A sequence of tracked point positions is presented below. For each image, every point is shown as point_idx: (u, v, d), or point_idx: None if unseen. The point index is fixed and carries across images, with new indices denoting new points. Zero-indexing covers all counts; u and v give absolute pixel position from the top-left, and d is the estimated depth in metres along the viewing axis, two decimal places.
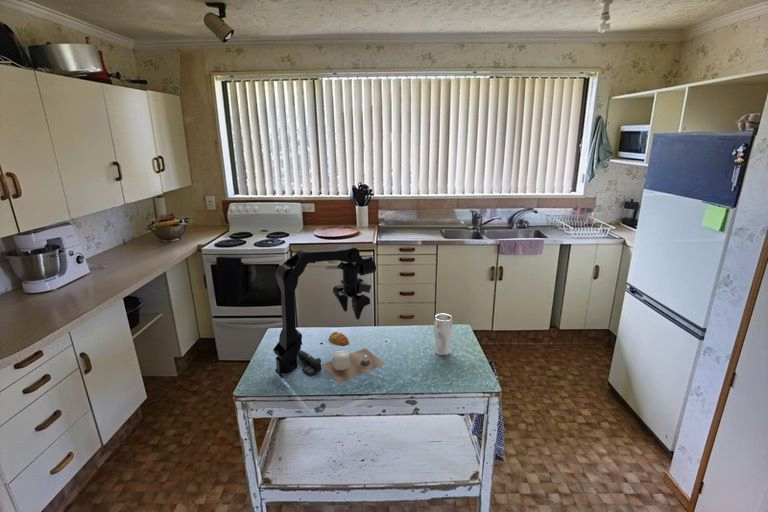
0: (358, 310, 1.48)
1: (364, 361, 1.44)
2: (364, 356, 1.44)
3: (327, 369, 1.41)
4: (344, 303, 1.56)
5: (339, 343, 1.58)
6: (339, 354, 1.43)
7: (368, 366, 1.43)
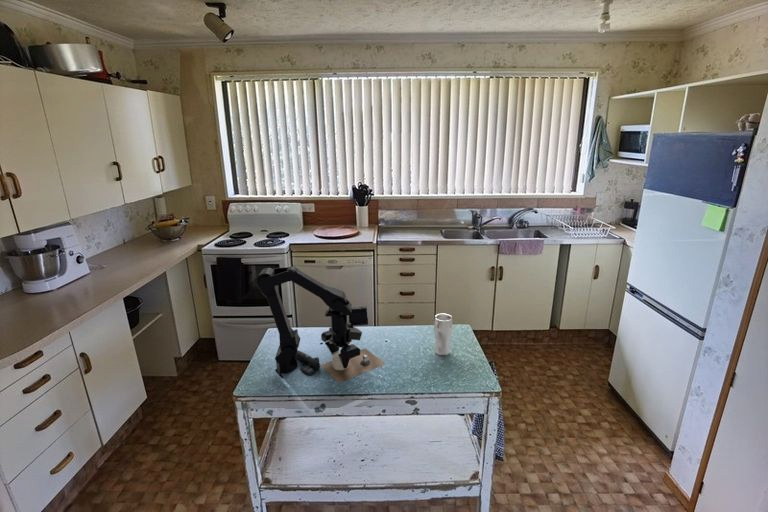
0: (345, 359, 1.39)
1: (364, 361, 1.44)
2: (364, 356, 1.44)
3: (327, 369, 1.41)
4: (335, 351, 1.45)
5: None
6: None
7: (368, 366, 1.43)
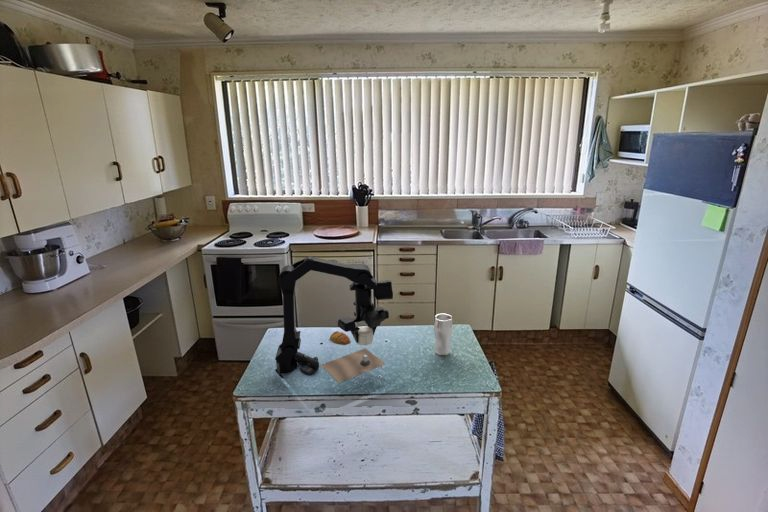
0: (353, 332, 1.39)
1: (364, 361, 1.44)
2: (364, 356, 1.44)
3: (327, 369, 1.41)
4: None
5: (341, 342, 1.59)
6: (364, 329, 1.42)
7: (368, 366, 1.43)
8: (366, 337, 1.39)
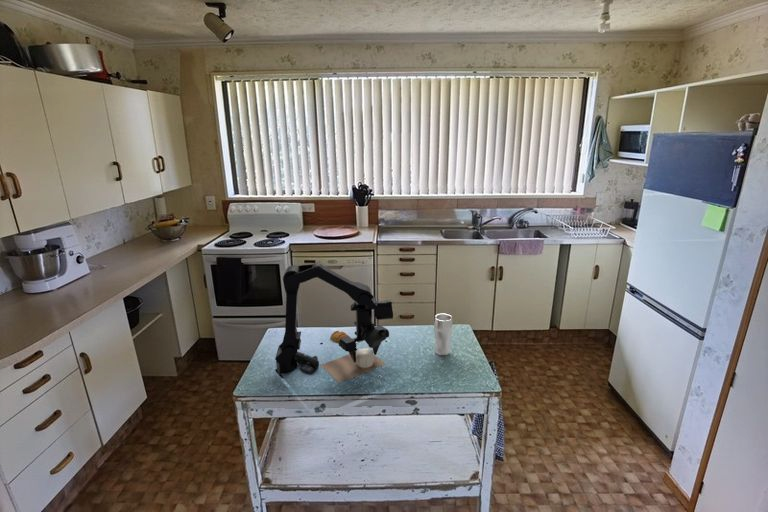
0: (351, 352, 1.40)
1: None
2: None
3: (327, 369, 1.41)
4: (375, 345, 1.46)
5: None
6: (365, 351, 1.44)
7: None
8: (366, 360, 1.41)
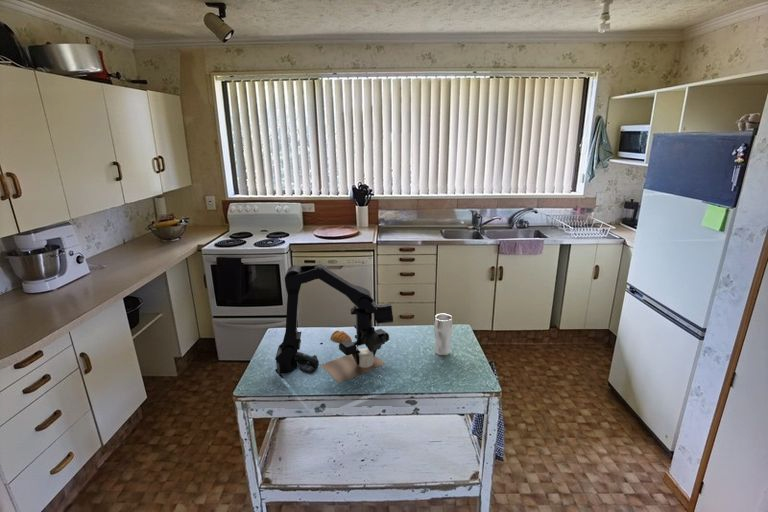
0: (354, 355, 1.42)
1: None
2: None
3: (327, 369, 1.41)
4: None
5: (342, 341, 1.60)
6: (365, 351, 1.44)
7: None
8: (366, 360, 1.41)
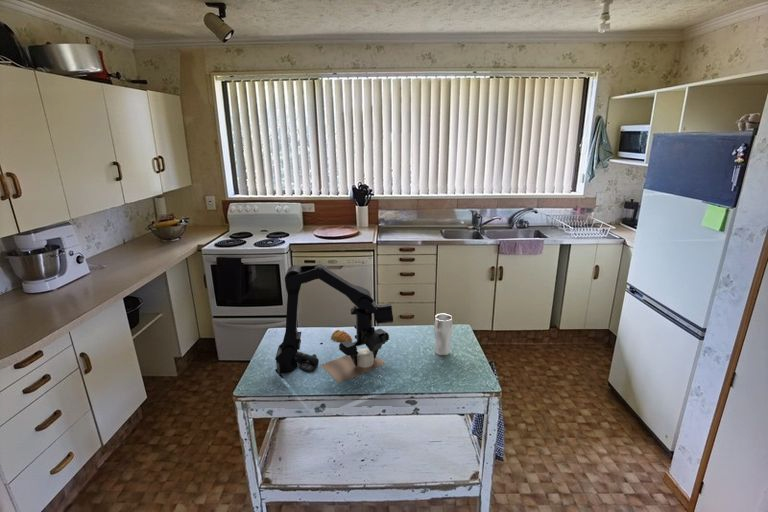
0: (352, 356, 1.41)
1: None
2: None
3: (327, 369, 1.41)
4: None
5: (343, 341, 1.60)
6: (363, 351, 1.44)
7: None
8: (373, 355, 1.44)
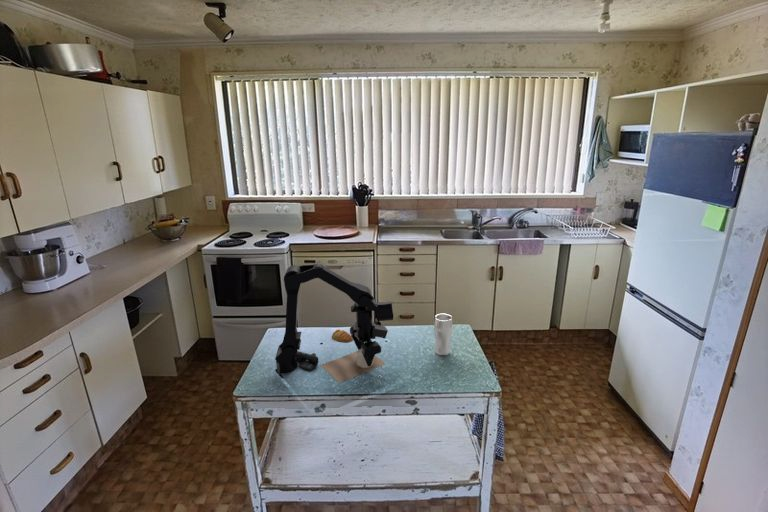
0: (369, 357, 1.38)
1: None
2: None
3: (327, 369, 1.41)
4: (360, 345, 1.48)
5: (343, 340, 1.60)
6: None
7: None
8: None
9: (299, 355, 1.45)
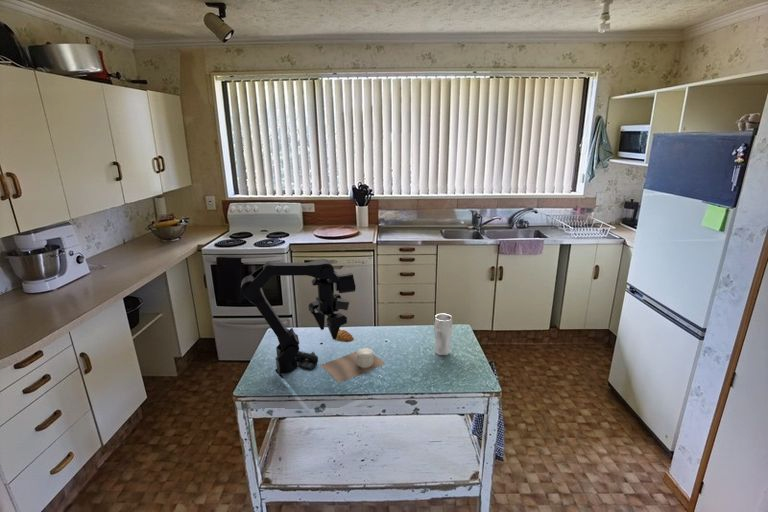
0: (334, 329, 1.37)
1: None
2: None
3: (327, 369, 1.41)
4: (321, 320, 1.46)
5: (344, 339, 1.61)
6: (363, 352, 1.44)
7: None
8: None
9: (298, 354, 1.45)
